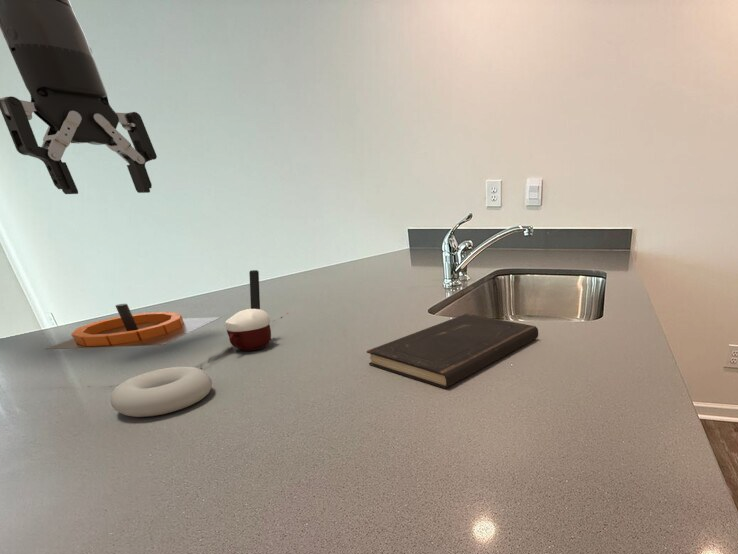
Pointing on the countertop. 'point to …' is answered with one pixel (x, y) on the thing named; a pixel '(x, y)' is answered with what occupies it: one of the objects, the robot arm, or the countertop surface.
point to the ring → (91, 338)
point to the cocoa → (250, 322)
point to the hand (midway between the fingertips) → (109, 193)
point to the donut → (161, 391)
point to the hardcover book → (452, 349)
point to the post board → (130, 325)
